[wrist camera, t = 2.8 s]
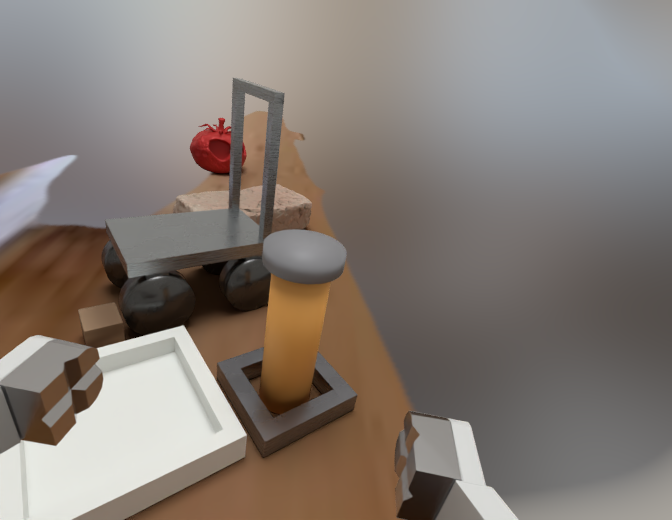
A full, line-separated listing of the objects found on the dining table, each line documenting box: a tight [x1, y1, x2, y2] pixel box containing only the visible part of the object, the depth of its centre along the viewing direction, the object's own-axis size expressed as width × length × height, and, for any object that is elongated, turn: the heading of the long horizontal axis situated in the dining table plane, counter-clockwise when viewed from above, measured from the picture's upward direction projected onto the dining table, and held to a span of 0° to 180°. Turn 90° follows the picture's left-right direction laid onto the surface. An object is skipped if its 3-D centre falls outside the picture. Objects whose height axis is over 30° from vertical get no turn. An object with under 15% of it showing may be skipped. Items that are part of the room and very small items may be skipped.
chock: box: [78, 302, 125, 348], centre depth 28 cm, size 2×3×2 cm
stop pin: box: [259, 229, 347, 414], centre depth 24 cm, size 5×5×12 cm
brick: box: [173, 184, 312, 234], centre depth 50 cm, size 17×8×5 cm, turn 132°
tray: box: [0, 325, 247, 520], centre depth 22 cm, size 11×11×2 cm
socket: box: [217, 347, 357, 458], centre depth 27 cm, size 7×7×2 cm
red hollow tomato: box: [190, 118, 246, 173], centre depth 70 cm, size 10×10×9 cm
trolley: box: [102, 78, 284, 335], centre depth 31 cm, size 13×9×19 cm
